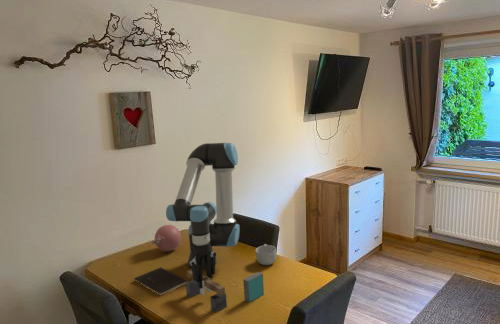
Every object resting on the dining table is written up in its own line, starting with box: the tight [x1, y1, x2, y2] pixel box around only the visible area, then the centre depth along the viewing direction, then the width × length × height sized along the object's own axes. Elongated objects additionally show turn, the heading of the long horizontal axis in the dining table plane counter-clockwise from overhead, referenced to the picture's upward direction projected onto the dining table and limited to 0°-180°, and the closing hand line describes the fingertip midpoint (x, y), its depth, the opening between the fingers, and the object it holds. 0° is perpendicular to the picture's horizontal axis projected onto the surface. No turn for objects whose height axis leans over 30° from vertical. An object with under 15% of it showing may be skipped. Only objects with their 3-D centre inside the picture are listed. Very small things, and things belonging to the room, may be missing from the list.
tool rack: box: [185, 279, 228, 314], centre depth 168 cm, size 21×6×6 cm, turn 44°
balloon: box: [151, 224, 182, 252], centre depth 223 cm, size 15×20×15 cm
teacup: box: [254, 243, 277, 266], centre depth 204 cm, size 14×11×8 cm
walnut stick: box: [186, 269, 226, 295], centre depth 167 cm, size 24×2×2 cm, turn 44°
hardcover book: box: [133, 267, 189, 296], centre depth 188 cm, size 16×23×2 cm
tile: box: [242, 271, 265, 303], centre depth 168 cm, size 3×9×10 cm, turn 134°
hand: (205, 292), depth 168 cm, fingers closed on walnut stick, 2 cm apart
